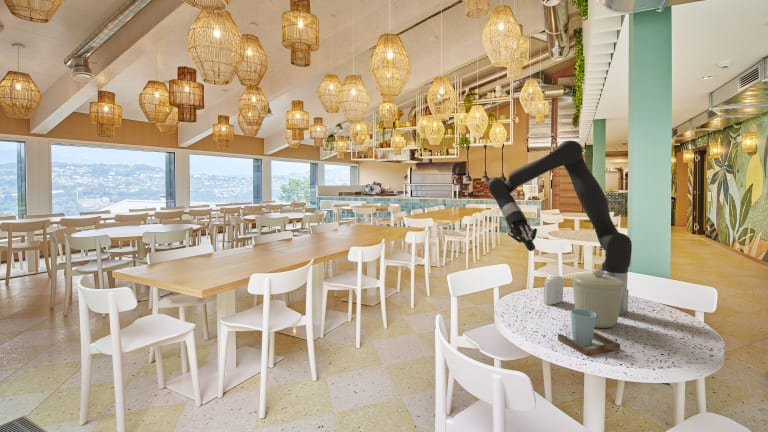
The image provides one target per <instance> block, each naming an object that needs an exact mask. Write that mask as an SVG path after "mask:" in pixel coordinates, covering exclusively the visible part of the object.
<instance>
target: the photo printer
mask: <svg viewBox="0 0 768 432" xmlns="http://www.w3.org/2000/svg"><path fill="white" fill-rule="evenodd" d="M563 300H564V278H563V277H562V275H558V274H554V275H553V274H552V275H550V276H547V278H545V279H544V282H543V303H544V305H549V306H551V305H555V304H559V303H561V302H563Z"/></svg>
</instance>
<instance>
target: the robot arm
mask: <svg viewBox="0 0 768 432" xmlns="http://www.w3.org/2000/svg"><path fill="white" fill-rule="evenodd" d="M562 166H563V167H564V168H565V171H566V172H567V173H568V176H569V177H570V181H571V183H572V187H573V189H574V191H575V194H576V196H577V199H578V200H579V202H580V204H581V207H582V208H583V210H584V211H585V214H586V216H587V218H588V219H589V221H590V223H591V224H592V227H593V229H594V231H595V234H596V237H597V239H598V242H599V245H600V246H601V249H602V250H603V251H604V252H605V259H604V261H603V262H602V263H601V270H602V271H603V275H608V276H612V277H615V278H618V279H620V280H621V281H623V282H624V283H625V284H626V287H624V289H623V295H622V300H621V306H620V311H619V316H622V315H626V313H628V311H629V310H628V308H629V307H628V306H629V289H628V274H629V273H628V272H629V268H630V266H631V261H632V251H633V250H632V249H633V248H632V247H633V246H632V245H633V244H632V240H631V238H630V237H629V236H628V235H626V234H624V233H621V232H619V230H618V229H617V227H616V226H615V224H614V222H613V220H612V217H611V215H610V208H609V201H608V199H607V197H606V194H605V192H604V190H603V189H602V187H601V185H600V184H599V182H598V181H597V179H596V178H595V176H594V175H593V173H592V172H591V170H589V168H588V166H587V164H586V161H585V159H584V156H583V146H582V145H581V144H580V143H579V142H578V141H576V140H573V139H572V140H570V139H569V140H565V141H563V142H561V143H560V144H559V145H558V147H557V148H555V149H554V150H553V151H551V152H550V153H548V154H545V156H543V157H541V158H539V159H536V160H534V161H531V162H529V163H527V164H524V165H523V166H521V167H519V168H516V169H514V170H513V171H511V172H509V174H508V179H506V180H505V181H504V180H503V179H502V178H501V177H499V176H497V177H491V179H489V180H488V183H487V188H488V191H489V192H490V194H491V196H492V197H493V198H494V200H495V201H496V203H497V205H498V208H499V209H500V211H501V214H502V216H503V218H504V220H505V222H506V224H507V226H508V228H509V229H510V230H509V232H508V233H507V235H508V236H509V237H511V238H512V239H513V240H515V241H517V242H518V243H520V244H521V243H522V244H524V246H525V247H526V249H527V250H528V251H529V252H534V251H535V249H536V245H535V244H534V242H533V241H534V240H536V236H537V233H538V229H537V228H533V227H532V228H531V225H529V223H528V220H527V218H526V216H525V213H524V212H523V211H522V208H520V205H519V204H518V203H517V201H516V199H515V198H514V197H513V195H512V194H511V193H512V192H514V191H515V190H516V189H517V188H518V187H521V186H523V185H524V184H526V183H529V182H530V181H533V180H534V179H536V178H537V177H538V178H539V177H540V176H542V175H543V174H546V173H548V172H550V171H552V170H554V169H557V168H560V167H562Z"/></svg>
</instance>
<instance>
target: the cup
mask: <svg viewBox="0 0 768 432" xmlns="http://www.w3.org/2000/svg"><path fill="white" fill-rule="evenodd" d="M596 316H597V315H596V313H594V312H592V311H589V310H584V309H575V308H574V309H571V310H570V319H571V321H570V322H571V333H572V334H571V335H572V340H574V341H576V342H577V343H579V344H581V345H583V346H585V347H591V346H592V344H593V340H594V339H593V333H594V332H595V328H596V327H595V321H596Z"/></svg>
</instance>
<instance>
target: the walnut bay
mask: <svg viewBox="0 0 768 432" xmlns="http://www.w3.org/2000/svg"><path fill="white" fill-rule="evenodd" d="M557 340H558V341H559V342H561V343H563V344H565V345H566V346H568V347H570V348H572V349H574V350H575V351H578V352H579V353H580V354H582V355H585V356H592V355H598V354H605V353H609V352H616V351H620V350H621V343H619V342H617V341H615V340H613V339H610V338H609V337H606V336H604V335H602V334H600V333H598V332H595V331H594V333H593V339H592V340H594V341H597V342H599V343H601V344H598V345H593V346H592V345H591V346H583V345H581V344H579V343H577V342H576V341H574V340H573V338H570V337H568V336H566V335H564V334H562V333H558V334H557Z"/></svg>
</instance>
